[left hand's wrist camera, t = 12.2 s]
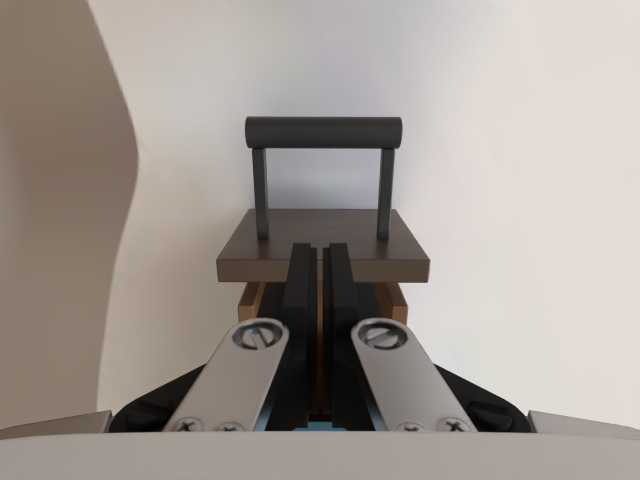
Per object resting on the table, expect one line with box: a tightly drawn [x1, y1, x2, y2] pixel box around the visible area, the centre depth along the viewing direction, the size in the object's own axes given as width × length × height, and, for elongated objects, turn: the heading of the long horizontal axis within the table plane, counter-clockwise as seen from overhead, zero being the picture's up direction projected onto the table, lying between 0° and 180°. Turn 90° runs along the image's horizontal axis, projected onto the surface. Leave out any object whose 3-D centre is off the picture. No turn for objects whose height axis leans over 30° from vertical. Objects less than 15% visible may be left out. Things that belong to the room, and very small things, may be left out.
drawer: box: [216, 117, 430, 422], centre depth 24 cm, size 24×10×9 cm, turn 0°
